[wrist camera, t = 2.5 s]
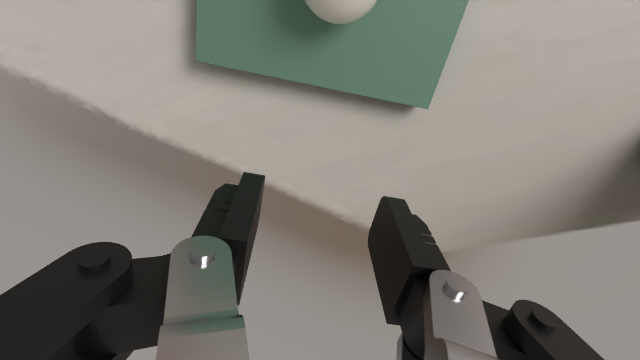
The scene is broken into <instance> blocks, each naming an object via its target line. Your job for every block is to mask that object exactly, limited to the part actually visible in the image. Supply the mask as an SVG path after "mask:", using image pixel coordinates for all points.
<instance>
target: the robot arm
mask: <svg viewBox="0 0 640 360" xmlns="http://www.w3.org/2000/svg"><path fill="white" fill-rule="evenodd" d="M264 182H265V176H264V175H259V174H253V173H247V172H244V173H243V175H242V178H241V180H240V183H239V185H231V184H224V185H223V186H221V187H220V188H218V189H217V190H215V192H214V194H213V196H212V198H211V200H210V202H209V204H208V205H207V208H206V210H205V211H204V213H203V216H202V217H201V219H200V221H199V223H198V225H197V227H196V229H195V231H194V233H193V235H192V237H191V238H187V239H185V240H183V241H181V242H180V243H179V244H177V245H176V246H175V247H174V249H173V250H172V252H171V253H170V254H167V255H163V256H157V257H148V258H137V259H132V255H131V253H130V251H129V250H128V249H127V248H126V247H124V246H123V245H120V244H117V243H112V242H97V243H91V244H87V245H84V246H80V247H78V248H76V249H73V250H72V251H70V252H68V253H67V254H65V255H63V256H62V257H60V258H58V259H57V260H55V261H54V262H52V263H51V264H49V265H47V266H46V267H44V268H43V269H41V270H39V271H38V272H37V273H35V274H33V275H32V276H30V277H28V278H27V279H25V280H24V281H22V282H21V283H19V284H17V285H16V286H14V287H13V288H11V289H9V290H8V291H6V292H5V293H3V294H1V295H0V360H126V359H127V358H128V357H129V356H130V354H131V353H132V352H133V351H134V350H137V349H143V348H148V347H153V346H158V347H157V355H156V360H249V353H248V346H247V338H246V330H245V323H244V318H243V316H242V315H239V314H238V306H237V305H239V303H240V299H241V295H242V291H243V287H244V282H245V278H246V274H247V270H248V265H249V261H250V257H251V252H252V248H253V244H254V240H255V235H256V231H257V227H258V222H259V216H260V209H261V203H262V196H263V189H264ZM431 235H432V234H431V232H430V231H429V229H428V227H427V225H426V224H425V223H424V222H423V221H422V220H421V219H420V218H419V217H418V216H417V215H413V214H411V211H410V209H409V207H408V205H407V203H406V201H405V200H404V199H398V198H392V197H387V196H383V197H382V198H381V200H380V203H379V205H378V208H377V211H376V214H375V217H374V220H373V222H372V225H371V228H370V231H369V236H368V248H369V251H370V256H371V260H372V264H373V268H374V272H375V277H376V281H377V285H378V289H379V293H380V297H381V301H382V306H383V310H384V314H385V318H386V322H387V324H393V325H394V324H395V325H400V326H401V330H402V333H401V335H400V337H399V339H398V341H397V357H396V359H397V360H604V359H603V358H602V357H601V356H600V355H599V354H598V353H597V352H595V351H594V350H593V349H592V348H591V347H590V346H589V345H588V344H587V343H586V342H585V341H583V339H581V338H580V337H579V336H578V335H577V334H576V333H575V332H574V331H573V330H572V329H571V328H570V327H569V326H567V325H566V324H565V323H564V322H563V321H562V320H561V319H560V318H558V316H556V315H555V314H554V313H553V312H551V311H550V310H548V309H547V308H545V307H543V306H542V305H540V304H537V303H535V302H532V301H528V300H518V301H516V302H515V303H514V304H513V306H512V307H511V308H510V310H506V309H503V308H501V307H498V306H496V305H493V304H490V303H488V302H485V301H483V300H482V299H481V296H480V294H479V292H478V290H477V289H476V287H475V286H474V285H473V284H472V283H471V282H470V281H468V280H467V279H466V278H464V277H462V276H461V275H459V274H457V273H454V272H452V271H451V270H450V268H449V266H448V264H447V263H446V261H445V259H444V257H443V255H442V253H441V251H440V249H439V248H438V246H437V245H436V242H435V240H434V238H433V237H432V236H431Z"/></svg>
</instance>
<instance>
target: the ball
mask: <svg viewBox="0 0 640 360" xmlns="http://www.w3.org/2000/svg"><path fill="white" fill-rule="evenodd" d="M376 1H377V0H305V2H306V4H307V5H308V7H309V8H310V9H311V10H312V12H313V13H314V14H316V15H317V16H318V17H319V18H321V19H323V20H325V21H327V22H330V23H334V24H346V23H350V22H354V21H356V20H358V19H360V18H361V17H363V16H364V15H366V14H367V13H368V12H369V11H370V10H371V9H372V7H373V6H374V5H375V3H376Z"/></svg>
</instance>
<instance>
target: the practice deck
mask: <svg viewBox="0 0 640 360" xmlns="http://www.w3.org/2000/svg"><path fill="white" fill-rule="evenodd" d="M468 1H469V0H377V1H376V3H375V5H374V6H373V7H372V9H371V10H370V11H369V12H368V13H367V14H366V15H364V16H363V17H361V18H360V19H358V20H356V21H354V22H350V23H346V24H334V23H330V22H327V21H325V20H323V19H321V18H319V17H318V16H317V15H316V14H314V13H313V12H312V10H311V9H310V8H309V7H308V5H307V4H306V2H305V0H197V8H196V48H195V61H199V62H203V63H208V64H213V65H218V66H223V67H228V68H232V69H237V70H242V71H247V72H252V73H256V74H261V75H266V76H271V77H276V78H280V79H285V80H290V81H295V82H300V83H304V84H309V85H314V86H319V87H324V88H328V89H333V90H338V91H343V92H348V93H352V94H357V95H362V96H367V97H372V98H377V99H381V100H386V101H391V102H396V103H401V104H405V105H410V106H415V107H420V108H425V109H428V108H429V105H430V102H431V100H432V97H433V94H434V92H435V89H436V86H437V84H438V81H439V78H440V76H441V73H442V70H443V68H444V65H445V62H446V60H447V57H448V54H449V52H450V49H451V46H452V43H453V41H454V38H455V35H456V33H457V30H458V27H459V25H460V22H461V19H462V17H463V14H464V11H465V9H466V6H467V3H468Z"/></svg>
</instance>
